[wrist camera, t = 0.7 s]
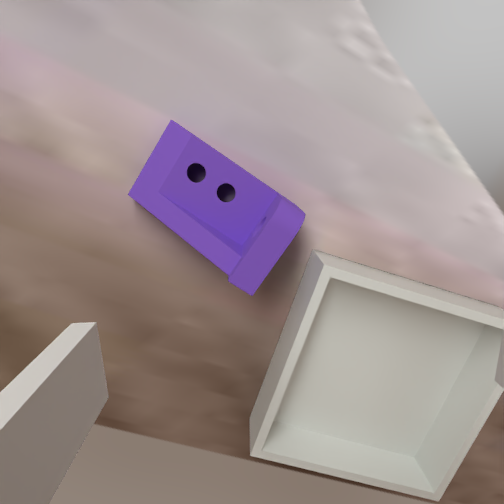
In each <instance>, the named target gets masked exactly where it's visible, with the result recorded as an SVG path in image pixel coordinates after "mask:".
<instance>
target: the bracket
mask: <svg viewBox="0 0 504 504" xmlns="http://www.w3.org/2000/svg"><path fill="white" fill-rule="evenodd" d="M193 163H199V164H201V165H202V166H203V167H204V168H205V170H206V176H205V178H204V180H203V181H201V182H198V183H195V182H192V181H191V180H190V178H189V177H188V173H187V170H188V167H189V166H190V165H191V164H193ZM224 183H228V184H231V185H232V186H233V187H234V188H235V192H236V194H235V197H234V199H233V200H232V201H230V202H223V201H221V200H220V199H219V198H218V196H217V189H218V187H219V186H220V185H221V184H224ZM128 195H129V196H130V197H132V198H133V199H134V200H135V201H137V202H138V203H139V204H140V205H142V206H143V207H144V208H145V209H147V210H148V211H149V212H150V213H151V214H153V215H154V216H155V217H156V218H158V219H159V220H160V221H161V222H163V223H164V224H165V225H166V226H168V227H169V228H170V229H171V230H173V231H174V232H175V233H176V234H178V235H179V236H180V237H181V238H183V239H184V240H185V241H186V242H188V243H189V244H190V245H191V246H193V247H194V248H195V249H196V250H197V251H199V252H200V253H201V254H202V255H204V256H205V257H206V258H207V259H209V260H210V261H211V262H212V263H214V264H215V265H216V266H217V267H219V268H220V269H221V270H222V271H224V272H225V273H226V274H227V275H229V277H228V281H229V282H230V283H232V284H234V285H235V286H237V287H238V288H240V289H242V290H243V291H245V292H246V293H248V294H250V295H251V296H253V294H254V293H255V291H256V290H257V289H258V287H259V286H260V284H261V283H262V282H263V280H264V279H265V277H266V276H267V275H268V273H269V272H270V270H271V269H272V268H273V266H274V265H275V263H276V262H277V261H278V259H279V258H280V256H281V255H282V254H283V252H284V251H285V249H286V248H287V247H288V245H289V244H290V243H291V241H292V240H293V238H294V237H295V235H296V234H297V232H298V231H299V229H300V227H301V225H302V223H303V221H304V218H305V213H304V212H303V211H302V210H301V209H300V208H299V207H297V206H296V205H295V204H294V203H292V202H291V201H289V200H288V199H286V198H285V197H283V196H282V195H281V194H279V193H278V192H276V191H275V190H273V189H272V188H270V187H269V186H267V185H266V184H265V183H263V182H262V181H260V180H259V179H257V178H256V177H254V176H253V175H251V174H250V173H249V172H247V171H246V170H244V169H243V168H241V167H240V166H238V165H237V164H235V163H234V162H233V161H231V160H230V159H228V158H227V157H225V156H224V155H222V154H221V153H219V152H218V151H217V150H215V149H214V148H212V147H211V146H209V145H208V144H206V143H205V142H203V141H202V140H201V139H199V138H198V137H196V136H195V135H193V134H192V133H190V132H189V131H187V130H186V129H185V128H183V127H182V126H180V125H179V124H177V123H176V122H174V121H172V120H171V121H170V123H169V124H168V126H167V128H166V130H165V131H164V133H163V135H162V136H161V138H160V140H159V142H158V143H157V145H156V147H155V149H154V150H153V152H152V154H151V156H150V157H149V159H148V161H147V162H146V164H145V166H144V168H143V169H142V171H141V173H140V175H139V176H138V178H137V180H136V182H135V183H134V185H133V187H132V189H131V190H130V192H129V194H128Z"/></svg>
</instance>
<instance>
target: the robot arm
mask: <svg viewBox="0 0 504 504" xmlns="http://www.w3.org/2000/svg"><path fill="white" fill-rule="evenodd" d="M494 381H495V382H497V383H498V384H499V385H500V386H501V387H502V388H503V389H504V329H503V335H502V341H501V346H500V352H499V357H498V363H497V368H496V374H495V379H494ZM108 397H109V396H108V390H107V384H106V378H105V372H104V366H103V359H102V353H101V347H100V341H99V335H98V329H97V323H96V322H90V323H72V324H71V325H70V326H68V327H67V328H66V329H65V330H64V331H63V332H62V333H61V334H60V335H59V336H58V337H57V338H56V339H55V340H54V341H53V342H52V343H51V344H50V345H49V346H48V347H47V348H46V349H45V350H44V351H43V352H42V353H41V354H40V355H38V356H37V357H36V358H35V359H34V360H33V361H32V362H31V363H30V364H29V365H28V366H27V367H26V368H25V369H24V370H23V371H22V372H21V373H20V374H19V375H18V376H17V377H16V378H15V379H14V380H13V381H12V382H11V383H9V384H8V385H7V386H6V387H5V388H4V389H3V390H2V391H1V392H0V504H49V503H50V501H51V499H52V497H53V495H54V494H55V492H56V490H57V488H58V486H59V485H60V483H61V481H62V479H63V477H64V476H65V474H66V472H67V470H68V469H69V467H70V465H71V463H72V461H73V460H74V458H75V456H76V454H77V453H78V450H79V449H80V447H81V445H82V444H83V442H84V440H85V438H86V437H87V435H88V433H89V431H90V429H91V428H92V426H93V424H94V422H95V421H96V419H97V417H98V415H99V413H100V412H101V410H102V408H103V406H104V404H105V403H106V401H107V399H108Z"/></svg>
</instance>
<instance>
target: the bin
mask: <svg viewBox="0 0 504 504" xmlns="http://www.w3.org/2000/svg"><path fill="white" fill-rule="evenodd" d="M503 329H504V310H503V309H502V308H500V307H498V306H495V305H492V304H488V303H485V302H482V301H479V300H475V299H472V298H469V297H466V296H462V295H459V294H456V293H453V292H449V291H446V290H443V289H440V288H436V287H433V286H430V285H427V284H424V283H420V282H417V281H414V280H411V279H407V278H404V277H401V276H398V275H394V274H391V273H388V272H385V271H381V270H378V269H375V268H372V267H368V266H365V265H362V264H359V263H356V262H352V261H349V260H346V259H343V258H339V257H336V256H333V255H330V254H326V253H323V252H320V251H317V250H312V253H311V255H310V258H309V261H308V263H307V266H306V269H305V271H304V274H303V277H302V279H301V282H300V285H299V287H298V290H297V293H296V295H295V298H294V301H293V303H292V306H291V309H290V311H289V314H288V317H287V319H286V322H285V325H284V327H283V330H282V333H281V335H280V338H279V341H278V343H277V346H276V349H275V352H274V354H273V357H272V360H271V362H270V365H269V368H268V370H267V373H266V376H265V378H264V381H263V384H262V386H261V389H260V392H259V394H258V397H257V400H256V402H255V405H254V408H253V410H252V413H251V416H250V456H254V457H258V458H262V459H266V460H270V461H274V462H278V463H283V464H287V465H291V466H295V467H299V468H303V469H307V470H311V471H315V472H319V473H324V474H328V475H332V476H336V477H340V478H344V479H348V480H352V481H356V482H361V483H365V484H369V485H373V486H377V487H381V488H385V489H389V490H393V491H397V492H402V493H406V494H410V495H414V496H418V497H422V498H426V499H430V500H434V501H438V502H439V500H440V499H441V497H442V495H443V493H444V492H445V490H446V488H447V487H448V485H449V483H450V481H451V480H452V478H453V476H454V475H455V473H456V471H457V469H458V468H459V466H460V464H461V463H462V461H463V459H464V457H465V456H466V454H467V452H468V451H469V449H470V447H471V445H472V444H473V442H474V440H475V439H476V437H477V435H478V433H479V432H480V430H481V428H482V427H483V425H484V423H485V421H486V420H487V418H488V416H489V415H490V413H491V411H492V409H493V408H494V406H495V404H496V403H497V401H498V399H499V397H500V396H501V394H502V392H503V391H504V389H503V388H502V387H501V386H500V385H499V384H498V383H497V382H495V381H494V379H495V374H496V368H497V363H498V357H499V352H500V346H501V341H502V335H503Z"/></svg>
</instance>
